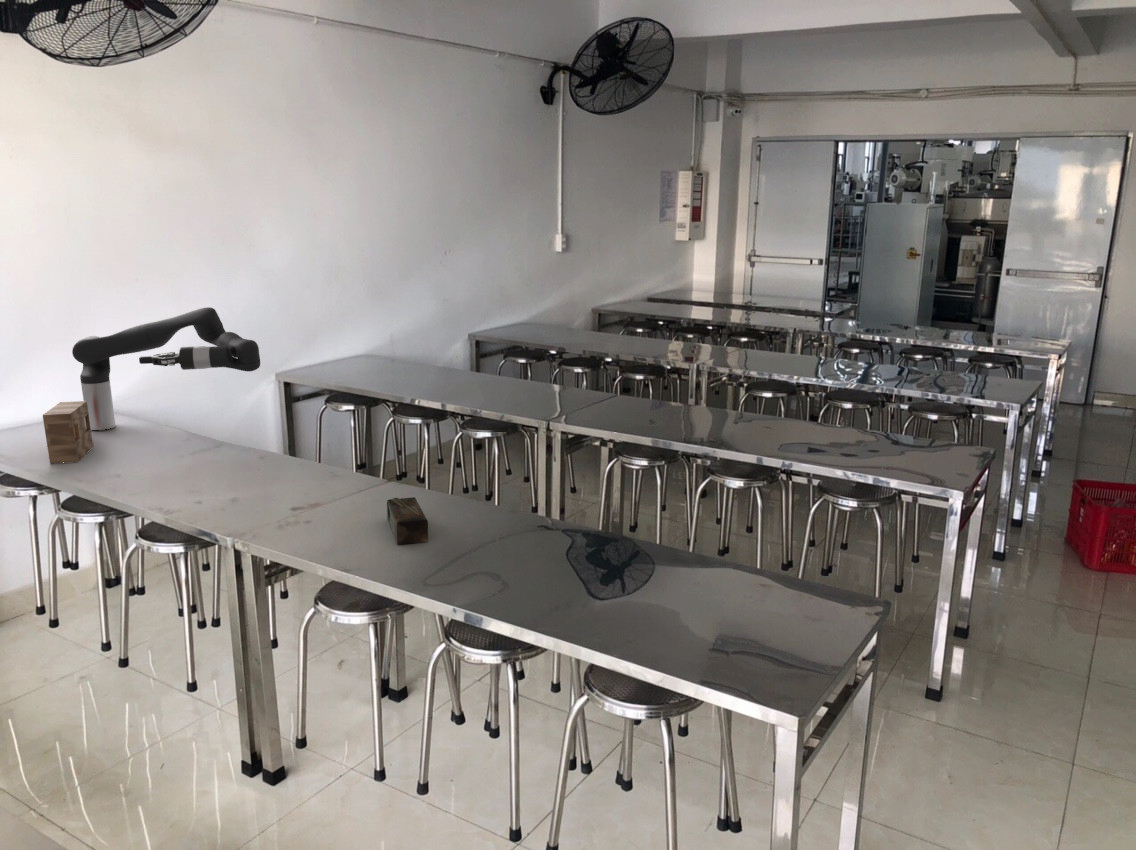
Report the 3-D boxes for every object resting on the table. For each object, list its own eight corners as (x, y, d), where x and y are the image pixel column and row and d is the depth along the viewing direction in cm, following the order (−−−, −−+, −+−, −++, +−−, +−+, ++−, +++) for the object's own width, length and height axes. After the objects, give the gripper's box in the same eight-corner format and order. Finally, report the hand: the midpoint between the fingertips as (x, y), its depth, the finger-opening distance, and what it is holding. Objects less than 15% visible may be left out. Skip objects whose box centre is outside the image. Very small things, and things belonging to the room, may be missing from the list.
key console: (67, 448, 300) (60, 402, 296) (93, 447, 302) (86, 400, 298) (50, 464, 283) (42, 414, 279) (77, 462, 285) (70, 413, 281)
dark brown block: (417, 517, 238) (416, 493, 236) (429, 543, 220) (428, 518, 219) (386, 520, 235) (385, 496, 234) (397, 547, 218) (395, 521, 216)
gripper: (194, 372, 292) (136, 375, 288) (200, 365, 304) (145, 367, 300) (191, 349, 290) (133, 352, 286) (198, 343, 302) (142, 345, 298)
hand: (139, 360), depth 293 cm, fingers closed
